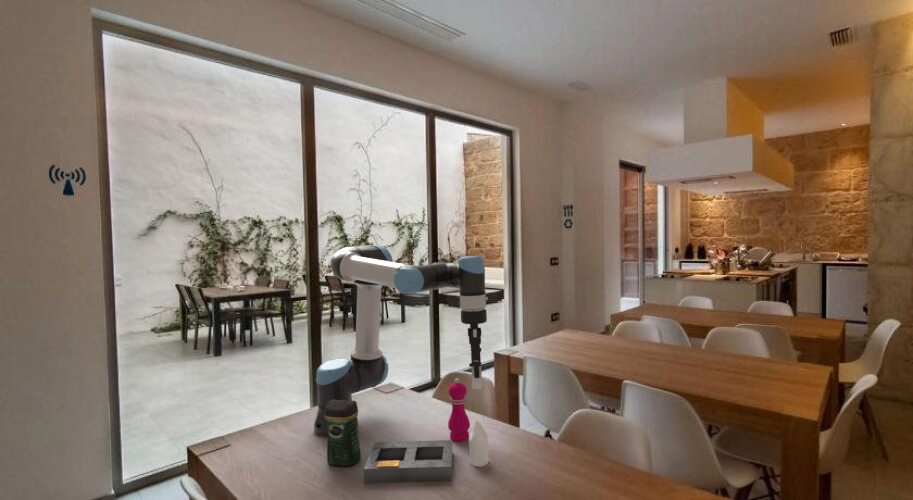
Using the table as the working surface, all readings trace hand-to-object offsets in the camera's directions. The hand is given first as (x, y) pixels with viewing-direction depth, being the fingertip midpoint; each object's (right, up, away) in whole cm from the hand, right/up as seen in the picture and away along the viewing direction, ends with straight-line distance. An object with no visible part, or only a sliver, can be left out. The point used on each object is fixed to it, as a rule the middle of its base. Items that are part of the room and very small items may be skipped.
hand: (476, 380), depth 136 cm
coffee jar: (-40, -26, +5) cm, 48 cm away
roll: (+1, -25, +1) cm, 25 cm away
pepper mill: (-5, -24, +17) cm, 30 cm away
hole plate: (-19, -25, 0) cm, 32 cm away
